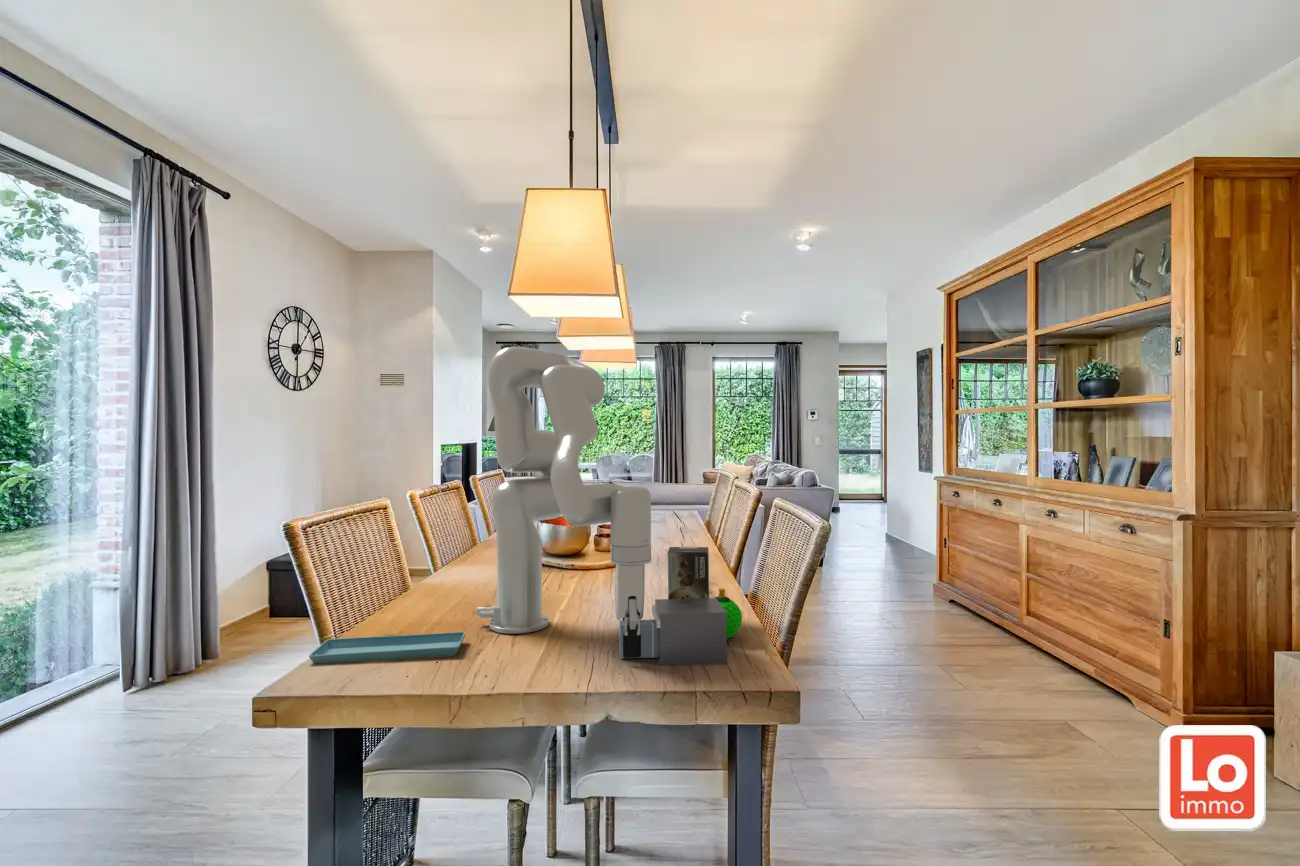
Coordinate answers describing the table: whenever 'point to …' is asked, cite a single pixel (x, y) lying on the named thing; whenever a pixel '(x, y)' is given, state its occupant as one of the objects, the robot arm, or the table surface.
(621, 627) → the blue-grey banded block
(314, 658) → the teal serving tray
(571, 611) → the table surface
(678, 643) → the dark grey box
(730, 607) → the ornament
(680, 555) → the coffee box
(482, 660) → the table surface
